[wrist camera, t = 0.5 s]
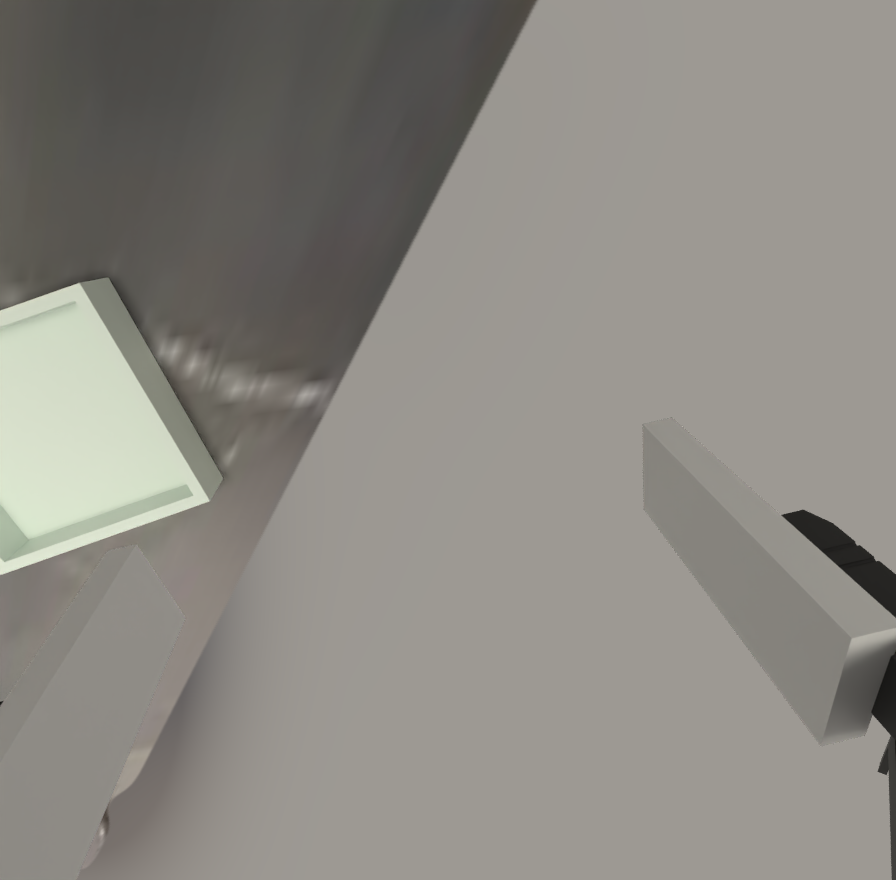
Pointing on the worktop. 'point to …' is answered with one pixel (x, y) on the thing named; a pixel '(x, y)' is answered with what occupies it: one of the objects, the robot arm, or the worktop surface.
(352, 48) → the worktop surface
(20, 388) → the bin
